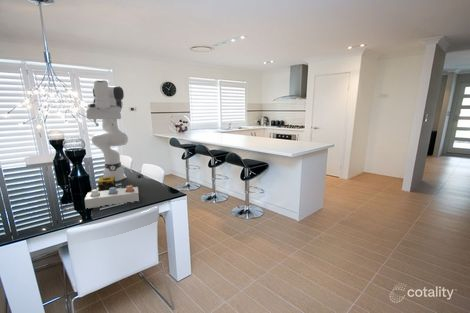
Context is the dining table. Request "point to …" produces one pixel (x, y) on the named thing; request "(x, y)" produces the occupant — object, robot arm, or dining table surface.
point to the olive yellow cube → (106, 183)
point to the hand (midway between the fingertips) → (105, 126)
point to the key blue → (112, 190)
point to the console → (111, 198)
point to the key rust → (129, 188)
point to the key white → (95, 192)
